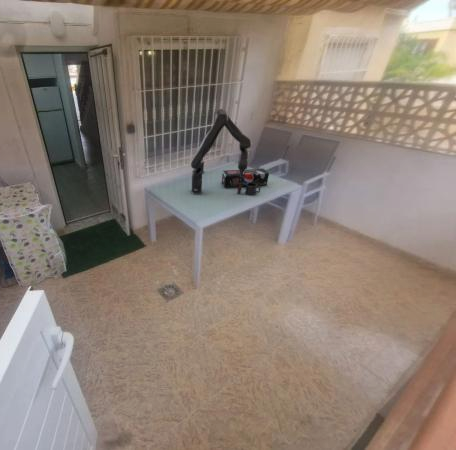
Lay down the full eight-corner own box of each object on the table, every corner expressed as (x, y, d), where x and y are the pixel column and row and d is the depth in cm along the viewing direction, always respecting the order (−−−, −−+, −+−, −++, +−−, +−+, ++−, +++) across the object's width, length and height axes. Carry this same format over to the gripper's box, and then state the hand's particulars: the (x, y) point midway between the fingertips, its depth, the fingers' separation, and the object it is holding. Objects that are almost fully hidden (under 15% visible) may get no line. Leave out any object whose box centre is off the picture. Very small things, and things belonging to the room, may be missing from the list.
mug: (244, 194, 221) (246, 185, 217) (245, 190, 228) (246, 182, 223) (259, 196, 217) (260, 187, 213) (259, 192, 224) (261, 183, 219)
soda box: (224, 188, 235) (225, 175, 228) (221, 182, 247) (222, 170, 240) (267, 186, 234) (270, 173, 227) (261, 180, 246) (263, 167, 239)
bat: (236, 192, 225) (238, 182, 220) (239, 192, 226) (241, 182, 220) (238, 194, 223) (239, 183, 218) (241, 193, 223) (242, 183, 218)
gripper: (237, 160, 215) (235, 178, 224) (239, 165, 204) (237, 184, 212) (246, 160, 214) (243, 177, 223) (249, 165, 203) (246, 184, 211)
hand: (240, 180), depth 218 cm, fingers open, 8 cm apart
